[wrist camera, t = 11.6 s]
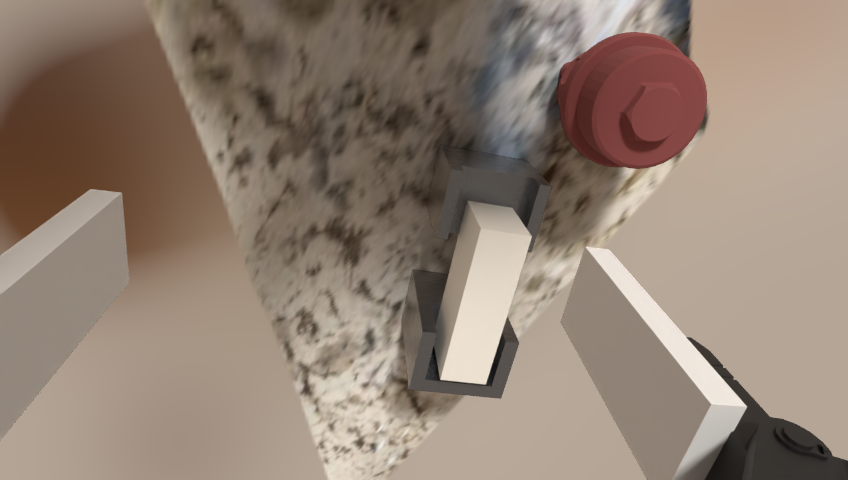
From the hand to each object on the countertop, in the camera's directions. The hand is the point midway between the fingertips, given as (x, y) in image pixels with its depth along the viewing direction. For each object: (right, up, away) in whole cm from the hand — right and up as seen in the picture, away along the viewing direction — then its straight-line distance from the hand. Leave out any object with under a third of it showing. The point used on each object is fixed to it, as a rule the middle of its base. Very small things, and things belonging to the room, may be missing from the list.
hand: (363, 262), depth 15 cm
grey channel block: (+7, +6, +35) cm, 36 cm away
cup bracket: (+4, -6, +40) cm, 40 cm away
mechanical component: (+17, +14, +32) cm, 39 cm away
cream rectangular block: (+6, -3, +32) cm, 33 cm away
